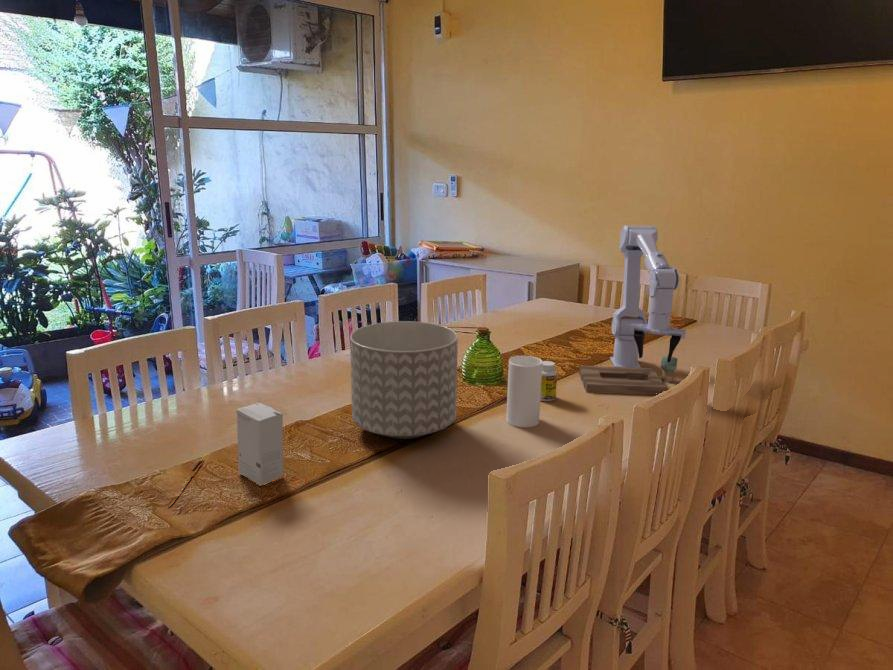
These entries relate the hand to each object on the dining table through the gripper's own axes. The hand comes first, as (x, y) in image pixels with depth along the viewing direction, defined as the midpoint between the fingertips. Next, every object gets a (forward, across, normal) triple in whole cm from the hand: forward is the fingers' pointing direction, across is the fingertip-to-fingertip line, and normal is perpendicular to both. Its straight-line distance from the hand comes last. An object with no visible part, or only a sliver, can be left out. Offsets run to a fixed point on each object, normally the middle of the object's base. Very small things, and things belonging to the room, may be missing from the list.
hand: (654, 359), depth 184 cm
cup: (+10, -26, -36) cm, 46 cm away
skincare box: (+10, -65, -88) cm, 110 cm away
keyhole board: (+10, -9, +3) cm, 14 cm away
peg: (+10, +3, +12) cm, 16 cm away
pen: (+10, -76, -97) cm, 124 cm away
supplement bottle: (+10, -25, -19) cm, 33 cm away
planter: (+10, -50, -54) cm, 74 cm away
